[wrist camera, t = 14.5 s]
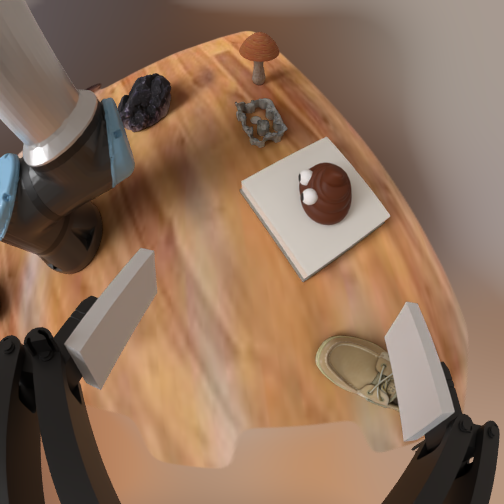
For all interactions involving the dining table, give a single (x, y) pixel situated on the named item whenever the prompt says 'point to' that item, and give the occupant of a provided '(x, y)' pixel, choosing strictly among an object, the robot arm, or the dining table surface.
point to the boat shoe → (359, 369)
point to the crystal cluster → (145, 102)
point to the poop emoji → (325, 193)
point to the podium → (298, 222)
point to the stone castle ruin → (261, 121)
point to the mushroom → (259, 53)
